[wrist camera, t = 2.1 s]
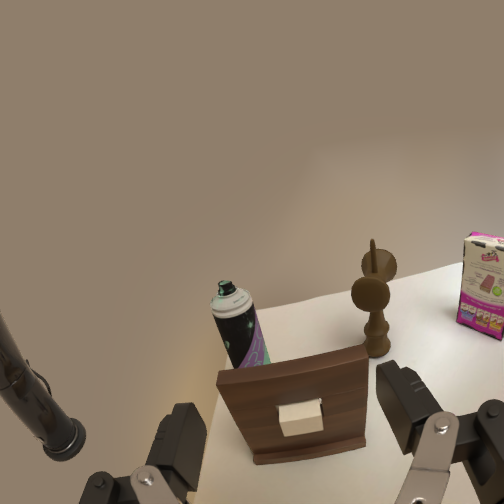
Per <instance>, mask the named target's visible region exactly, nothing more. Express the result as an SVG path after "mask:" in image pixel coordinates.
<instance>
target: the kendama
mask: <svg viewBox="0 0 504 504" xmlns="http://www.w3.org/2000/svg"><path fill="white" fill-rule="evenodd" d="M361 267H362V271H363V274H364V276H365V277H362V278H360V279H358V280H356V281H355V283H354V284H353V286H352V290H351V296H352V300H353V303H354V304H355V305H356V307H357V308H359V309H361V310H363V311H366V312H370V316H369V321H368V322H367V323H366V325H365V327H364V333H365V335H366V336H367V338H366V340H365V341H364V343H363V345H364V347H365V349H366V352H367V354H368V356H372V357H379V356H382V355H385V354H386V353H387V352H388V351H389V349H390V347H391V342H390V340H389V339H388V338H387V333H388V331H389V324H388V322H387V321H385V318H384V314H383V309H385V307H386V306H387V304H388V303H389V300H390V291H389V287H388V285H387V284H386V283H387V282H388V281H390V280H392V279H393V278H394V276H395V275H396V271H397V263H396V259H395V257H394V256H393V255H392V254H391V253H390V252H388V251H386V250H383V249H376V247H375V242H374V240H373V239H371V241H370V251H369V252H368V253H366V254H365V255H364V257H363V259H362V265H361Z"/></svg>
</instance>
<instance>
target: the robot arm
mask: <svg viewBox="0 0 504 504" xmlns="http://www.w3.org/2000/svg"><path fill="white" fill-rule="evenodd" d="M35 375H36V376H37V377H38V378H40V379H41V380H42V381H43V382H44V383H45V385H46V387H47V390H48V392H47V391H46V389H45V388H44V387H43V385H42V384H41V383H40V381H39V380H38V378H37V377H36V376H35ZM376 394H377V398H378V401H379V403H380V405H381V408H382V410H383V412H384V414H385V416H386V418H387V420H388V422H389V424H390V426H391V429H392V431H393V433H394V435H395V437H396V439H397V442H398V444H399V446H400V448H401V450H402V453H403V455H406V454H408V453H410V452H412V455H413V457H414V459H413V462H412V464H411V467H410V469H409V472H408V474H407V477H406V479H405V481H404V484H403V486H402V488H401V491H400V493H399V495H398V497H397V499H396V501H395V503H394V504H441V502H442V499H443V496H444V493H445V490H446V487H447V484H448V481H449V477H450V471H449V468H450V464H453V463H457V462H461V461H462V463H463V465H464V467H465V469H466V471H467V473H468V476H469V478H470V480H471V482H472V485H473V487H474V489H475V492H476V494H477V496H478V499H479V501H480V504H504V403H503V402H502V401H500V400H496V399H492V400H488V401H486V402H484V403H483V404H482V405H481V406H480V408H479V410H478V412H475V413H471V414H467V415H462V416H455V415H454V414H453V413H450V412H446V411H443V409H442V408H441V407H440V405H439V404H438V402H437V401H436V400H435V398H434V397H433V395H432V394H431V392H430V391H429V390H428V388H427V387H426V385H425V384H424V382H423V381H421V378H420V377H419V376H418V374H417V373H416V372H415V371H413V370H412V369H410V368H408V367H404V368H402V369H400V368H399V366H398V365H397V363H396V362H395V361H394V360H391V361H388V362H385V363H382V364H379V365H377V367H376ZM0 397H1V398H2V399H3V401H4V402H5V403H6V404H7V405H8V407H9V408H10V409H11V410H12V412H13V413H14V414H15V415H16V416H17V417H18V419H19V420H20V421H21V422H22V423H23V424H24V425H25V426H26V427H27V429H29V431H30V432H31V433H32V434H33V435H34V437H35V438H36V439H37V440H39V441H40V442H41V443H42V444H43V445H44V446H45V447H46V448H47V449H48V450H49V451H50V452H52V453H54V454H62V453H65V452H66V451H68V450H69V449H71V448H72V447H73V445H74V444H75V443H76V441H77V438H78V428H77V426H76V425H75V423H74V422H72V421H71V420H70V419H69V417H68V416H67V415H66V414H65V413H64V412H63V411H62V409H61V408H60V407H59V406H58V405H57V403H56V402H55V401H54V400H53V399H52V394H51V389H50V386H49V384H48V383H47V381H46V380H45V379H44V378H43V377H42V376H40V375H39V374H38V373H36V372H35V371H33V370H32V369H31V368H30V366H29V362H28V360H26V361H25V360H24V358H23V356H22V355H21V353H20V350H19V348H18V346H17V344H16V342H15V340H14V338H13V337H12V335H11V333H10V331H9V329H8V327H7V325H6V322H5V320H4V318H3V316H2V314H1V311H0ZM206 436H207V430H206V426H205V423H204V421H203V420H202V418H201V416H200V414H199V412H198V410H197V408H196V407H195V405H194V404H193V403H192V402H191V403H177V404H175V406H174V408H173V411H172V414H171V415H166V416H165V418H164V419H163V420H162V421H161V422H160V424H159V427H158V430H157V433H156V436H155V440H154V441H153V444H152V447H151V450H150V453H149V455H148V458H147V461H146V464H145V466H141V467H139V468H137V469H136V470H135V471H134V472H133V473H132V475H131V476H126V477H119V478H113V477H112V476H111V475H110V474H109V473H107V472H103V471H101V472H96V473H94V474H93V475H91V476H90V477H89V479H88V481H87V483H86V486H85V489H84V491H83V494H82V496H81V499H80V502H79V504H191V503H190V501H189V500H188V499H187V498H186V497H187V492H188V491H193V492H197V487H198V481H199V476H200V470H201V464H202V459H203V453H204V447H205V442H206Z"/></svg>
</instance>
